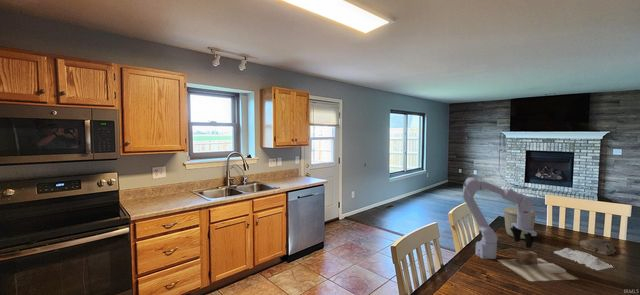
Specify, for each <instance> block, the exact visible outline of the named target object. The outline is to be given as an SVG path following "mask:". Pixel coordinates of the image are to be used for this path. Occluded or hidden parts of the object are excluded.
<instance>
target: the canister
mask: <svg viewBox="0 0 640 295" xmlns="http://www.w3.org/2000/svg"><path fill="white" fill-rule="evenodd" d="M517 209H518V204H516V206H507V207H504V208H502V211H503V215H504V216H503V217H504V224H505V232H506V233H507V235H508V236H509V237H513V238H514V236H513V233H512V231H511V229H510V228H513V227H512V226H511V223H517ZM537 215H538V213H537V212H536V211H535V210H533V209H531V224H530V227H532V230H534V228H535V227H534V226H535V222H536V216H537ZM524 234H528V233H526V232H524V231H522V232H521V236H520V240H521V239H523V240H525V237H524Z"/></svg>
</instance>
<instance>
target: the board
mask: <svg viewBox="0 0 640 295" xmlns="http://www.w3.org/2000/svg"><path fill="white" fill-rule="evenodd" d="M497 262H499V263H500V264H502V265H503V266H505V267H507V268H509V270H511V271H513V272H514V273H516V274H517V275H519V276H520V277H522V278H524V279H525V280H527V281H528V282H546V281H567V280H568V281H570V280H579V278H578V277H577V276H575V275H573V274H570V273H569V272H567V271H566V273H556V274H549V273H548V272H546V271H544V270H542V269H541V268H539V267H537V264H543V263H549V262H548V261H546V260H545V259H542V258H541V257H540V258H539V257H537V263H533V264H521V263H520V262H518V261H517V258H514V259H512V258H510V259H509V258H508V259H497Z"/></svg>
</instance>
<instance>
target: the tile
mask: <svg viewBox="0 0 640 295" xmlns="http://www.w3.org/2000/svg"><path fill="white" fill-rule="evenodd" d="M537 267H539V268H541V269H542V270H544V271H546V272H548V273H549V274H556V273H566V272H567V270H566V269H565V268H563V267H561V266H559V265H557V264H555V263H553V262H548V263H543V264H537Z"/></svg>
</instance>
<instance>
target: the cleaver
mask: <svg viewBox="0 0 640 295" xmlns="http://www.w3.org/2000/svg"><path fill="white" fill-rule="evenodd" d="M545 232H546V233H547V234H549V235H554V236H557V237H561V238H563V239H565V240H571V238H570V237H567V236H565V235H564V236H563V235H561V234H557V233H554V232H550V231H547V230H545Z"/></svg>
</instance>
